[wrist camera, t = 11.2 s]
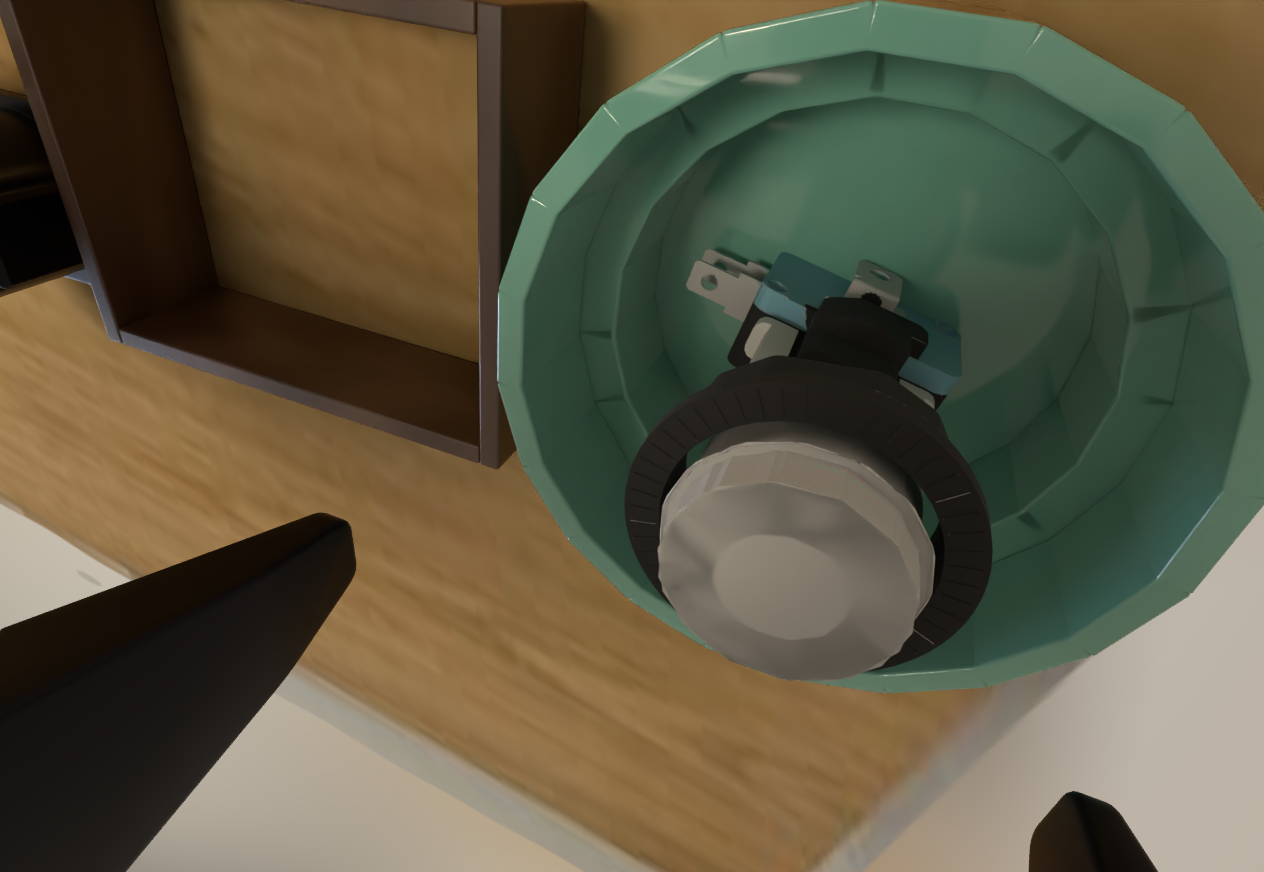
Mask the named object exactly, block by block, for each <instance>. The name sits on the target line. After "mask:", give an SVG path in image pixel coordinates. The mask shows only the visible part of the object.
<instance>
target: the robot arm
mask: <svg viewBox="0 0 1264 872" xmlns="http://www.w3.org/2000/svg"><path fill="white" fill-rule="evenodd" d="M63 276H65V277H68V278H71V279H74V280H77V281H80V282H84V283H87V284H90V281H89V278H88V275H87V272H86V269H85V266H84V263H83V260H82V257H81V254H80V251H79V248H78V245H77V242H76V239H75V236H74V233H73V230H72V227H71V224H70V221H69V219H68V216H67V213H66V210H65V207H64V204H63V201H62V198H61V195H60V192H59V189H58V186H57V183H56V180H55V177H54V174H53V171H52V168H51V165H50V162H49V159H48V156H47V153H46V150H45V147H44V144H43V142H42V139H41V136H40V133H39V130H38V127H37V124H36V121H35V118H34V115H33V112H32V109H31V106H30V103H29V100H28V97H27V96H24V95H20V94H15V93H11V92H7V91H3V90H0V297H2V296H5V295H8V294H11V293H14V292H17V291H20V290H23V289H26V288H29V287H32V286H35V285H38V284H42V283H45V282H48V281H51V280H54V279H57V278H60V277H63ZM90 285H91V284H90ZM355 571H356V557H355V550H354V543H353V537H352V530H351V526H350V525H349V523H348V522H347V521H345V520H343V519H340V518H338V517H335V516H332V515H330V514H327V513H315V514H312V515H309V516H307V517H304V518H301V519H298V520H296V521H293V522H290V523H288V524H285V525H282V526H279V527H277V528H274V529H271V530H269V531H266V532H263V533H260V534H258V535H255V536H252V537H250V538H247V539H244V540H241V541H239V542H236V543H233V544H231V545H228V546H225V547H222V548H220V549H217V550H214V551H212V552H209V553H206V554H203V555H201V556H198V557H195V558H193V559H190V560H187V561H184V562H182V563H179V564H176V565H174V566H171V567H168V568H165V569H163V570H160V571H157V572H154V573H152V574H149V575H146V576H144V577H141V578H138V579H135V580H133V581H130V582H127V583H125V584H122V585H119V586H116V587H114V588H111V589H108V590H106V591H103V592H100V593H97V594H95V595H92V596H90V597H87V598H84V599H81V600H79V601H76V602H73V603H70V604H68V605H65V606H62V607H59V608H57V609H54V610H51V611H49V612H46V613H43V614H40V615H38V616H35V617H32V618H30V619H27V620H24V621H22V622H19V623H16V624H13V625H11V626H8V627H5V628H3V629H1V630H0V872H126V871H127V870H128V869H129V867H130V866H131V865H132V864H133V863H134V861H135V860H136V859H137V858H138V856H139V855H140V854H141V853H142V851H143V850H144V849H145V848H146V847H147V846H148V844H149V843H150V842H151V840H153V838H154V837H155V836H156V835H157V833H158V832H159V831H160V830H161V829H162V827H163V826H164V825H165V824H166V823H167V821H168V820H169V819H170V818H171V816H172V815H173V814H174V813H175V812H176V810H177V809H178V808H179V807H180V805H181V804H182V803H183V802H184V801H185V800H186V798H187V797H188V796H189V794H191V792H192V791H193V790H194V788H195V787H196V786H197V785H198V784H199V783H200V781H201V780H202V779H203V778H204V777H205V775H206V774H207V773H208V772H209V771H210V769H211V768H212V767H213V766H214V764H215V763H216V762H217V761H218V760H219V758H220V757H221V756H222V755H223V753H224V752H225V751H226V750H227V749H228V748H229V746H230V745H231V744H232V743H233V741H234V740H235V739H236V738H237V737H238V735H239V734H240V733H241V732H242V731H243V729H244V728H245V727H246V726H247V724H248V723H249V722H250V721H251V720H252V718H253V717H254V716H255V715H256V714H257V712H258V711H259V710H260V709H261V708H262V706H263V705H264V704H265V703H266V702H267V700H268V699H269V698H270V697H271V695H272V694H273V693H274V692H275V691H276V689H277V688H278V687H279V686H280V684H281V683H282V682H283V681H284V679H285V678H286V677H287V675H288V674H289V673H290V671H291V670H292V668H293V667H294V666H295V664H296V663H297V661H298V660H299V659H300V657H301V656H302V654H303V653H304V651H305V650H306V648H307V647H308V645H309V644H310V642H311V641H312V639H313V638H314V636H315V635H316V633H317V632H318V630H319V629H320V627H321V626H322V624H323V623H324V621H325V620H326V618H327V617H328V615H329V614H330V612H331V611H332V609H333V608H334V606H335V605H336V604H337V602H338V601H339V599H340V598H341V596H342V595H343V593H344V592H345V590H346V589H347V587H348V586H349V584H350V583H351V581H352V579H353V577H354V574H355ZM1029 872H1158V871H1157V869H1156V868H1155V866H1154V865H1153V863H1152V862H1151V860H1150V859H1149V857H1148V855H1147V854H1146V852H1145V851H1144V849H1143V848H1142V846H1141V845H1140V843H1139V842H1138V840H1137V839H1136V837H1135V836H1134V834H1133V833H1132V831H1131V829H1130V828H1129V826H1128V825H1127V823H1126V822H1125V820H1124V819H1123V817H1122V816H1121V814H1120V813H1119V812H1118V811H1117V810H1116V809H1115V808H1114V807H1113V806H1112V805H1110V804H1108V803H1106V802H1104V801H1101V800H1098V799H1096V798H1093V797H1090V796H1087V795H1085V794H1082V793H1079V792H1075V791H1072V792H1069V793H1066V794H1065V795H1064V796H1063V797H1062V798H1061V799H1060V800H1059V801H1058V803H1057V804H1056V805H1055V806H1054V807H1053V808H1052V809H1051V811H1050V812H1049V813H1048V814H1047V815H1046V816H1045V817H1044V819H1043V820H1042V821H1041V822H1040V823H1039V824H1038V826H1037V827H1036V829H1035V831H1034V833H1033V836H1032V839H1031V844H1030V854H1029Z"/></svg>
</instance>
